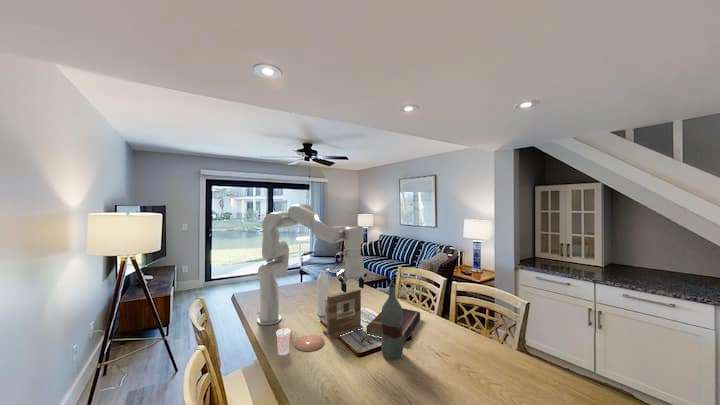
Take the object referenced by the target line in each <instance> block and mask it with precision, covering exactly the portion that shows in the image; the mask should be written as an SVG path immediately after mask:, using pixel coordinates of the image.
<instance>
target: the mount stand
mask: <svg viewBox="0 0 720 405" xmlns="http://www.w3.org/2000/svg"><path fill="white" fill-rule="evenodd" d="M361 297H362V294H361V289H358V288H357V289H354V290H353V289H352V290H349V291H346V292H343V291H342V292H340V293H336V294H335V293H334V294H332V295H330V294H329V296H327V298H326V299H325V316H324V318H325V320H327V322H326V325H327V326H326V327H327V328H325V329H323V330H322V334H324V335H325V336H326V337H327V338H328V339H329V340H333V339H337V338H340V337H339V336H340V335H343V334H346V333H348V332H351V331H355V330H358V329H361V328H362V329H363V325H362V322H361V321H362V319H361V316H362V314H361V313H362V310H361V307H362V302H361V301H362V300H361V299H362V298H361Z"/></svg>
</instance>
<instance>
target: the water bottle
mask: <svg viewBox="0 0 720 405" xmlns="http://www.w3.org/2000/svg"><path fill="white" fill-rule="evenodd" d="M330 271H331V268H326V269H325V270H320V274H319V275H318V276H317V279H316V284H317V285H316V288H317V293H316V296H317V297H316V300H317V301H316V302H317V303H316V304H317V306H316V307H317V311H316V313H317V314H316V315H317V316H318V317H325V299H326V298H327V296H330V294H329V292H330V290H329V286H330V284H329V281H330V280H329V276H328V275H327V274H326V272H330Z"/></svg>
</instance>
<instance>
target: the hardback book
mask: <svg viewBox="0 0 720 405" xmlns="http://www.w3.org/2000/svg"><path fill="white" fill-rule="evenodd" d="M402 311H403V323H402V341H403V346H404V345H405V343H406V342H407V341H408V339H409V337H410V336H409V335H411V334H412V332H413V331H414V330H415V328H416V326H417V325H418V323H419V322H420V320H421V312H420V311H417V310H414V309H413V310H412V309H408V308H403V307H402ZM367 334H370V335H374V336H379V337H382V334H383V331H382V319H381V312H380V313H378V314H377V315H376V316H375V317H374V318H373V319H372V320H371V321H370V322H369V323H368V324H367V325H366V335H367ZM408 336H409V337H408ZM407 338H408V339H407Z"/></svg>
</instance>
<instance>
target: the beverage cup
mask: <svg viewBox="0 0 720 405" xmlns="http://www.w3.org/2000/svg"><path fill="white" fill-rule="evenodd" d="M291 331H292V330H291V328H288V327H287V328H286V327H285V320H284V319H282V328H279V329H278V330H276V332H275V335H276V343H277V354H278V355H280V356H285V355H286V356H287V354H289V353H290V338H291Z"/></svg>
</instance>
